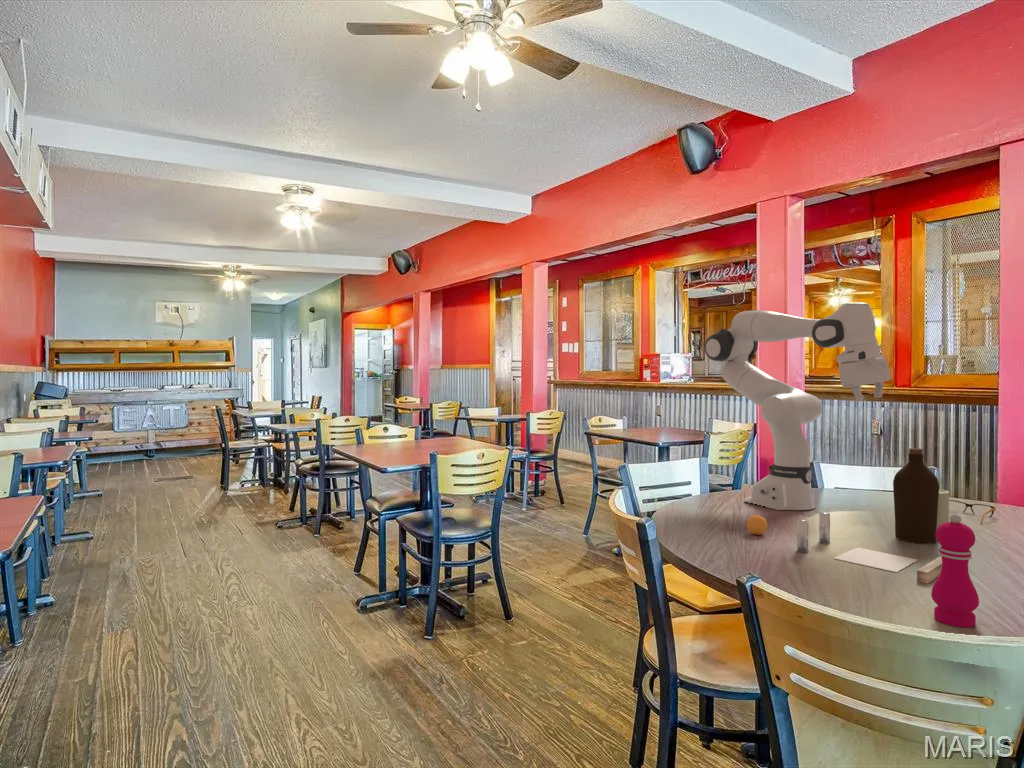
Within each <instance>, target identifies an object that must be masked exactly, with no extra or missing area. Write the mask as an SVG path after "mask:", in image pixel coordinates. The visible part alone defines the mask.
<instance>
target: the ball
mask: <svg viewBox="0 0 1024 768" xmlns="http://www.w3.org/2000/svg"><path fill="white" fill-rule="evenodd" d="M746 527H747V529H748V532H750V533H751V534H753V535H755V536H756V535H757V536H759V535H760V536H761V535H763V534H764V533H766V532H767V530H768V522H767V520H766V519H765V517H763V516H761V515H758V514H754V515H751V516H750V517H749V518H748V519H747V521H746Z"/></svg>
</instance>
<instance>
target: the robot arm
mask: <svg viewBox="0 0 1024 768" xmlns="http://www.w3.org/2000/svg"><path fill="white" fill-rule="evenodd" d="M876 329H877V327H876V320H875V317H874V313H873V310H872V306H871V305H870V304H869V303H867V302H863V301H861V302H859V301H857V302H846V303H843V304H841V305H840V306H839V308H838V309H837V310H836V311H834V312H833V313H832V314H830V315H828V316H827V317H826V316H825V317H824V318H822V319H820V318H819V319H818V318H817V319H816V318H805V317H800V316H796V315H790V314H785V313H781V312H777V311H772V310H771V311H770V310H762V309H761V310H759V309H758V310H754V309H753V310H745V311H741V312H738V313H737V314H735V316H733V318H732V321H731V326H730V327H729V329H726V328H722V329H720V330H719V331H716V332H715V333H713V334H711V335H710V336H709V337H708V338H707V339H706V340H705V342H704V352H705V355H706V357H708V359H710V360H712V361H714V362H724V365H723V366H722V367H721V368H722V369H721V377H722V379H723V380H724V382H726V383H727V385H729V386H730V387H731V388H732V389H733V390H735V391H736V392H737V393H739V394H741V395H742V396H743V397H745V398H746V399H748V400H749V401H751V402H752V403H753V404H755V405H756V406H760V414H761V416H762V419H763V420H764V421H765V422H766V423H767V425H768V426H769V428H770V429H769V430H770V432H771V435H772V436H771V437H772V439H773V450H774V451H773V455H774V460H773V461H774V464H771V465H768V466H767V468H766V470H767V471H768V470H769V474H768V475H766V476H765V477H763V478H761V479H760V480H758V481H757V482H755V483H754V484H753V486H752V489H751V493H750V494H751V495H750V496H748V497H747V496H746V497H745V498H744V503H746V502H748V503H747V504H750V503H753V504H752V505H755V504H757V505H756V506H759V505H761V506H760V507H763V506H765V508H768V509H773V510H778V511H789V510H790V511H806V510H807V511H809V510H814V509H815V507H816V505H815V504H814V499H813V494H812V489H811V487H812V486H811V482H812V466H811V465H810V460H811V459H810V455H811V453H810V451H811V448H810V442H809V440H808V439H806V436H805V434H804V432H803V428H802V425H805V424H807V425H808V424H809V423H812V422H814V421H816V420H817V419H818V418H820V416H821V414H822V411H823V406H822V402H821V400H820V398H818V397H817V396H815V395H813V394H811V393H808V392H805V391H802V390H801V389H799V388H797V387H794V386H792V385H789V384H787V383H785V382H784V381H780V380H779V379H776V378H774V377H773V376H772V375H769V374H767V373H766V372H764V370H761V369H759V368H758V367H756V366H754V365H753V364H752V363H751V361H753V360H754V359H755V354H756V352H757V350H758V346H759V342H760V343H775V342H782V341H789V340H792V339H800V338H812V340H813V342H814V343H815V344H816V345H817V347H818V346H819V347H821V348H822V349H824V348H825V349H832V348H833V349H834V348H844V349H845V350H843V352H842V353H841V352H840V354H839V355H837V356H836V362H837V364H839V365H838V375H839V380H840V384H841V385H842V387H843V388H850V389H851V392H852V394H853V395H854V397H855V401H856V402H862V401H865V394H862V391H861V389H862V388H861V387H862V386H866V385H871V384H873V387H874V391H873V397H874V398H875V399H876V398H882V397H883V389H884V382H889V381H890V380H891V372H890V371H891V370H890V366H889V363H888V360H887V359H886V357H885V356H884V355H883V354H882V352H880V348H879V347H880V346H879V341H878V338H877V336H876Z"/></svg>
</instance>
